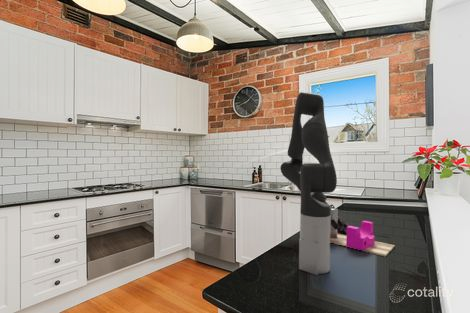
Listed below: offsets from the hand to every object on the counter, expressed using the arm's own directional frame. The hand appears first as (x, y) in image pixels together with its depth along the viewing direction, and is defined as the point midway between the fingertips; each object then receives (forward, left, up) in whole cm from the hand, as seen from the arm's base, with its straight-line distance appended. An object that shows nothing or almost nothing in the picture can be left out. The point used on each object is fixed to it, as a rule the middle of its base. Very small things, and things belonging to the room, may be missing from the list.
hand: (339, 227), depth 114 cm
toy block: (0, -9, -5) cm, 11 cm away
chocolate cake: (+11, +1, -6) cm, 13 cm away
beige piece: (0, -7, -5) cm, 9 cm away
